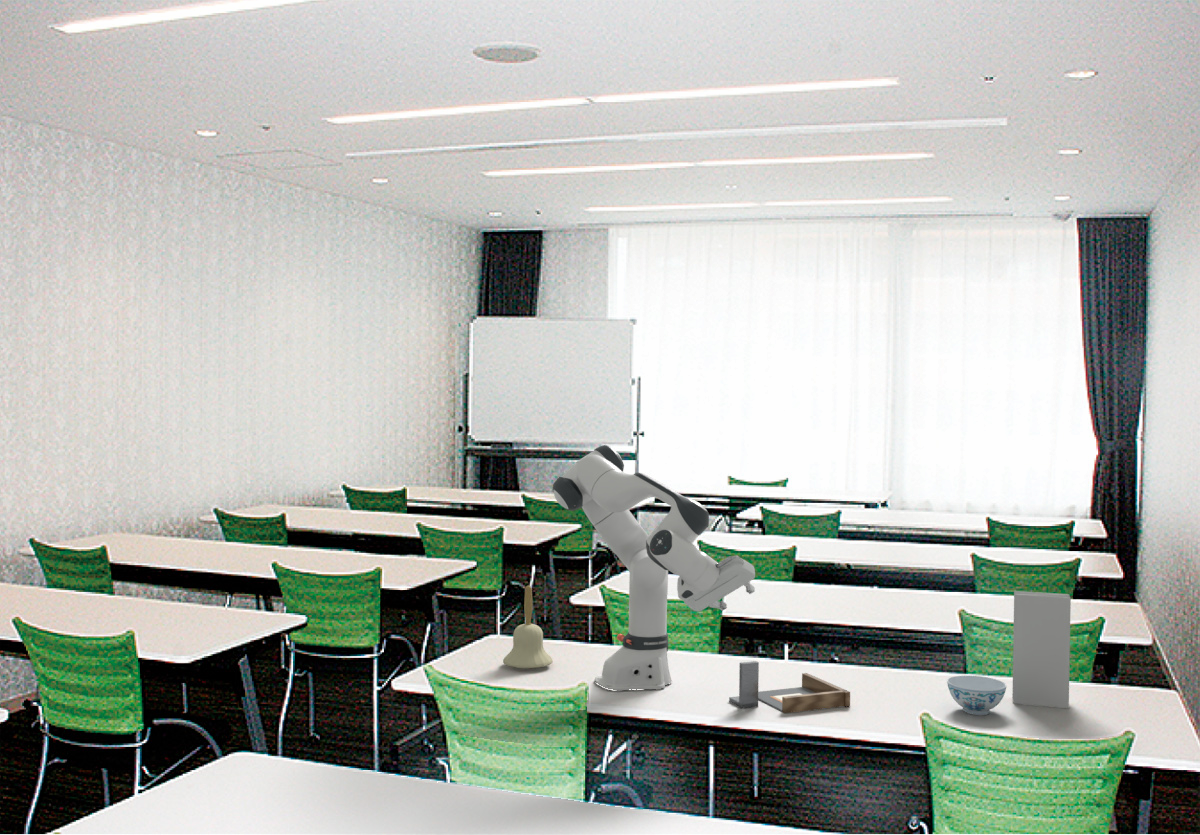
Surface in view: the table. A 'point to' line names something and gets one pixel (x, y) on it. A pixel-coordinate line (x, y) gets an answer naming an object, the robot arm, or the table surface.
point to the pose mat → (780, 695)
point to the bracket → (747, 685)
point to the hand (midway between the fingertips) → (738, 599)
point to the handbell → (528, 642)
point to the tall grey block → (1041, 649)
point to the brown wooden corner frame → (816, 696)
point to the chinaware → (976, 693)
